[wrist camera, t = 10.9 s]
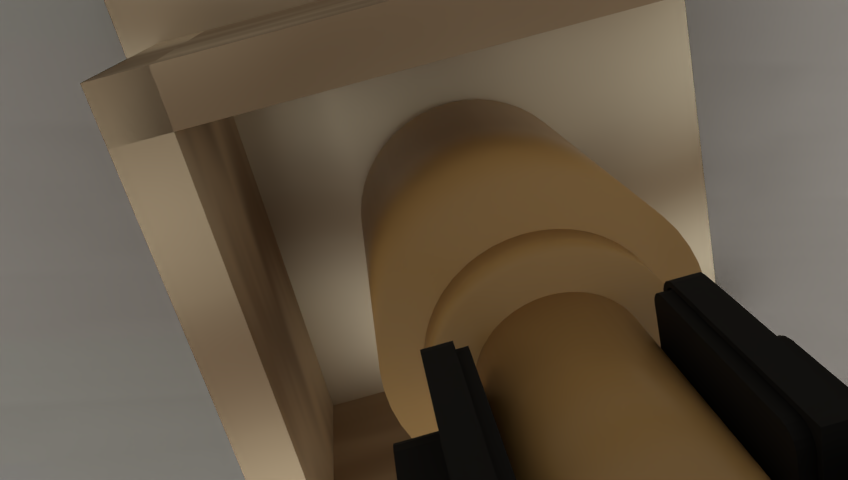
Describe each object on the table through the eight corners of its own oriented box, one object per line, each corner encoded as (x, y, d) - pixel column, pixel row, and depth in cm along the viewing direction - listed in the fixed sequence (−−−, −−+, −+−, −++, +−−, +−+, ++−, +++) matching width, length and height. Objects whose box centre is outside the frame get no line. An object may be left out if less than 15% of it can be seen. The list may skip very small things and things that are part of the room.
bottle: (333, 134, 19) (346, 615, 5) (560, 73, 19) (1156, 385, 5) (393, 334, 21) (514, 1044, 8) (596, 278, 22) (1084, 874, 8)
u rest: (110, -4, 19) (0, 18, 12) (658, -149, 19) (816, -197, 13) (294, 475, 24) (282, 654, 18) (715, 358, 24) (845, 495, 18)
